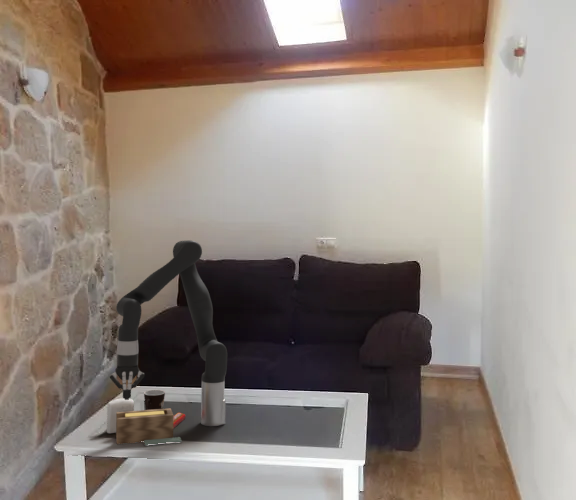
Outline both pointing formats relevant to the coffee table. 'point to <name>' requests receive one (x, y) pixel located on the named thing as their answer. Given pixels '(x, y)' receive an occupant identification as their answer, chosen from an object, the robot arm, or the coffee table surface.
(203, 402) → the robot arm
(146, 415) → the slat
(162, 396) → the coffee mug
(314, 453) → the coffee table surface
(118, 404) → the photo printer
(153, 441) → the grey-green flat bar
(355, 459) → the coffee table surface
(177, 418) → the candy bar
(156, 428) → the pocket block
